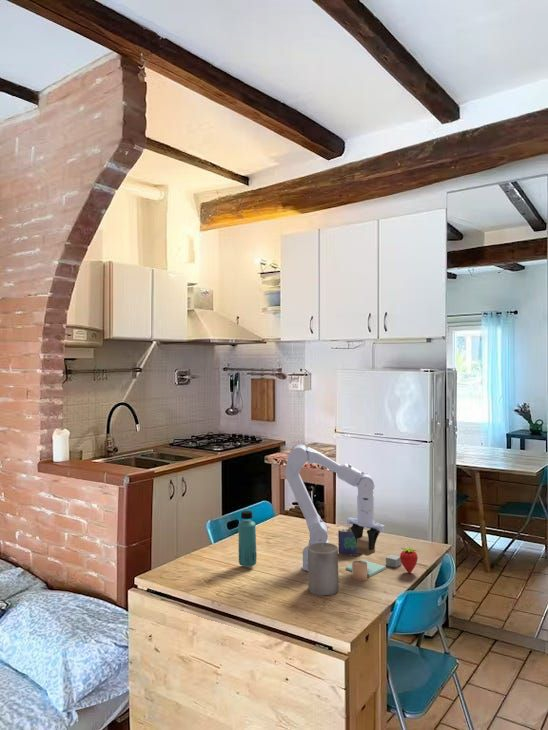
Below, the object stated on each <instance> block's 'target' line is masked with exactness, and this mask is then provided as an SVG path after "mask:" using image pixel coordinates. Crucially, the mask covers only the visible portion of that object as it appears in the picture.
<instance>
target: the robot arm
mask: <svg viewBox="0 0 548 730" xmlns="http://www.w3.org/2000/svg"><path fill="white" fill-rule="evenodd" d="M286 460H287V461H286V467H285V471H284V472H285V473H284V476H285V478H286V480H287V482H288V484H289V487H290V489H291V491H292V492H293V495H294V497H295V500H296V502H297V504H298V507H299V508H300V511H301V513H302V515H303V517H304V519H305V522H306V525H307V530H308V531H309V539H308V543H307V546H305V547H303V550H302V566H301V567H300V569H301V570H304V571H307V572H308V546H310V545H311V544H314V543H330V540H329V539H328V537H329V536H328V531H329V527H328V524H327V523H326V522H325V521H324V520H323V519H322V518H321V516H320V514H319V513H318V511H317V509H316V507H315V505H314V502H313V500H312V498H311V496H310V494H309V492H308V490H307V487H306V485H305V483H304V481H303V479H302V476H301V474H300V472H301V469H302V467H304V465H305V464H306V463H307V465H311V464H318V465H320V466H321V467H323V468H325V469H328V470H329V471H331V472H334V473H336V477H337V479H339V480H341V481H343V482H344V483H347V485H351V486H352V487H357V496H356V497H357V498H356V500H357V501H356V506H357V507H356V512H357V513H356V514H357V517H351V516H350V517H347V518H346V519H347V520H346V523H347V525H351V526H352V527H351V530H352V532H353V534H354V536H355V539H356V543H357V538H360V537H362V536H364V535H363V533H364V529H365V528H366V529H367V528H368V529H367V530H366V534H367V537H368V538H369V550H373V549H374V547H375V548H376V544H377V539H378V536H379V535H380V534H381V533H382V532H384V531H386V527H385V524H382V523H379V522H377V521H375V519H374V518H375V516H374V515H375V514H374V511H375V510H374V509H375V508H374V507H375V506H374V504H375V503H374V501H375V499H374V489H375V485H374V484H375V483H374V479H373V477H372V476H371V475H370V474H368V473H367V472H365V471H363V470H361V471H360V470H358V469H357V468H355V467H353V465H352V464H351V463H348V464H347V463H341V464H340V463H338V462H336V461H335V460H333V459H331V458H329V457H328V456H327V455H325V454H323V453H321V452H319V450H316V449H314V448H312V447H309V446H306V445H305V444H303V443H297V444H295V445H294V446H293V447H292V449H291V450H290V452H289V454H288V456H287V459H286ZM307 461H308V462H307Z"/></svg>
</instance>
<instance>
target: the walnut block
mask: <svg viewBox="0 0 548 730" xmlns="http://www.w3.org/2000/svg"><path fill="white" fill-rule="evenodd" d="M357 553H359V554H362V555H363V556H368V557H369V556H370V555H372V554H375V553H376V546H375V547H374V549H373V550H369V538H368V535H367V536H366V535H363V536H362V537H360V538H357Z"/></svg>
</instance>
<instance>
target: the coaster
mask: <svg viewBox="0 0 548 730" xmlns="http://www.w3.org/2000/svg"><path fill="white" fill-rule="evenodd" d="M359 561H364V562H366V563H367V577H369V578H370V577H372V576H374V575H376V574H378V573H380V572H382V571H384V570H386V569H387V567H386V566H387V565H382V564H378V563H374V562H372V561H370V560H369V561H368V560H365V559H360V560H359ZM346 570H347V571H350V572H352V564H350V565H347V566H346V567H345V571H346Z"/></svg>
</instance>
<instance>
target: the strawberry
mask: <svg viewBox="0 0 548 730" xmlns="http://www.w3.org/2000/svg"><path fill="white" fill-rule="evenodd" d="M406 545H407V546H408V547H409V548H404V547H401V548H400V549H402V551H401V552H400V554H399V556H400V560H401V565H402V566H403V568H404V570H406V572H407V573H408V574H411V573H412V571H413V570H414V569H415V567H416V565H417V562H418V557H419V556H418V553H417V552H416V551H417V549H413V548H412V547H410V546H409V545H408V543H406Z"/></svg>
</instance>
